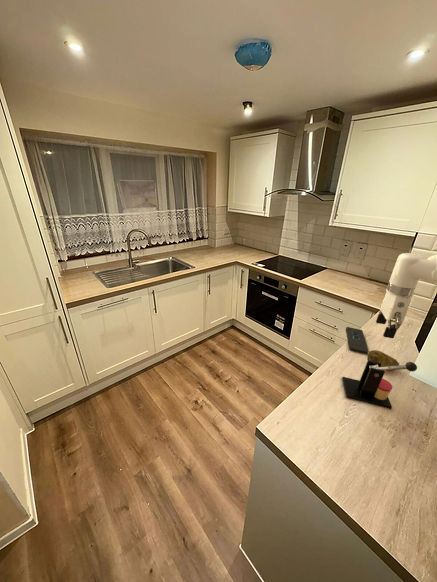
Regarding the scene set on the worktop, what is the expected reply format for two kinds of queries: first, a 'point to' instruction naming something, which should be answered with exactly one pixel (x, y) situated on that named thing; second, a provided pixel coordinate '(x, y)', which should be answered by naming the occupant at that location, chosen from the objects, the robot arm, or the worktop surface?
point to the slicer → (366, 386)
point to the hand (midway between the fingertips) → (384, 329)
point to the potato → (382, 359)
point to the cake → (383, 390)
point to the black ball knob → (397, 367)
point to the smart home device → (356, 340)
